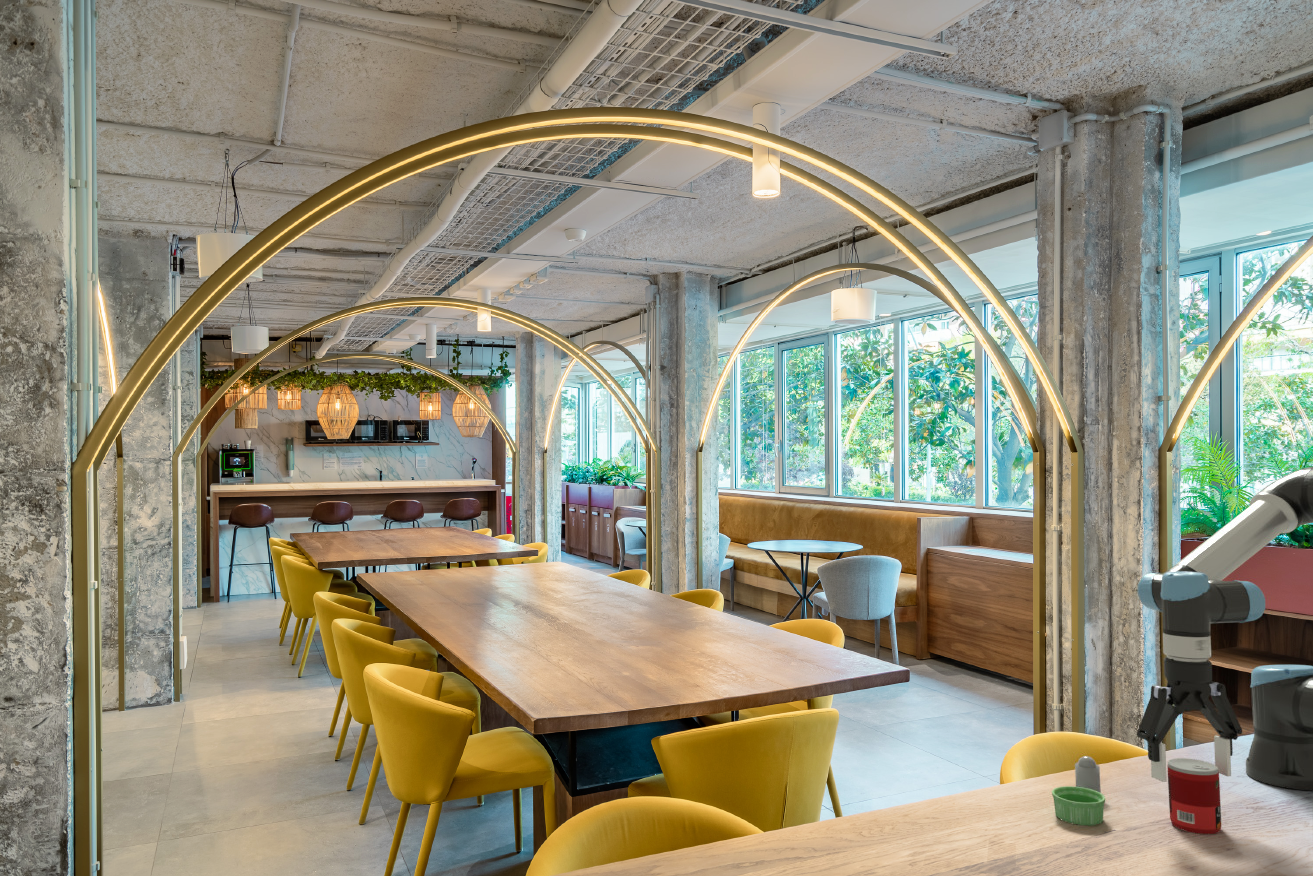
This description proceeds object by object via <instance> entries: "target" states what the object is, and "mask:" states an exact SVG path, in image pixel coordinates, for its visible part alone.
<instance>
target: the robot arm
mask: <svg viewBox="0 0 1313 876" xmlns="http://www.w3.org/2000/svg"><path fill="white" fill-rule="evenodd" d="M1307 524H1313V466H1310V467H1305V468H1304V467H1303V468H1301V469H1298V470H1295V471H1293V472H1290V473H1288V474H1285V475H1283V476H1282V477H1280V478H1279V479H1276V480H1275V481H1273V482H1271V483H1270V484H1269V485H1267V486H1265V487H1264V488H1262V489H1261V490H1260V491H1258V492H1257V493H1256V494H1255V495H1253V496H1252V497H1251V499H1250V501H1249V506H1248V507H1247V508H1245V509H1244V510H1243V511H1242V512H1240V513H1239V514H1238V515H1237V516H1235V517H1234V518H1233V519H1231V520H1230V521H1229V522H1227V523H1226V524H1225V525H1224V526H1223V527H1221V528H1220V529H1219V530H1217V531H1216V532H1215V533H1213V535H1211V536H1210V537H1209V538H1208V539H1206V540H1204V542H1203V543H1201V544H1200V545H1198V546H1197V547H1196V548H1195V549H1193V550H1192V551H1191V552H1190V553H1188V554H1187V555H1186V556H1185V557H1183V558H1182V559H1180V560H1179V561H1178V562H1177V563H1175V565H1173V566H1172V567H1170V568H1168V569H1167V570H1166V571H1165V572H1163V573H1162V572H1151V573H1146V574H1145V575H1144V576H1142V577H1141V579H1139V582H1138V584H1137V596H1138V598H1139V601H1140V602H1141V604H1142V605H1143V606H1144V607H1146V608H1147V609H1150V610H1154V611H1157V612H1161V614H1162V615H1161V616H1162V646H1163V647H1162V654H1164V655H1165V657H1164V658H1163V676H1164V677H1165V679H1166V681H1167V682H1166V686H1160V685H1156V684H1153V685H1151V687H1150V699H1149V701H1148V703H1147V705H1146V708H1145V711H1144V713H1143V716H1142V718H1141V721H1140V724H1139V727H1138V729H1137V732H1136V737H1138V738H1140V739H1142V740H1145V741H1146V743H1147V758H1148V760H1149V761H1150V769H1151V771H1150V772H1151V778H1153V779H1155V780H1158V781H1160V782H1162V783H1165V782H1167V783H1168V776H1167V754H1166V753H1167V752H1166V744H1165V743H1163V740H1164V738H1165V737H1166V735H1167V734H1168V732H1169V731H1170V729H1171V728H1172V726H1174V725H1173V724H1174V723H1175V722H1176V720H1177V718H1178V717H1179V716H1180V715H1182V714H1183V713H1184V712H1191V711H1196V712H1197V711H1199V712H1201V714H1202V715H1203V716H1204V717H1205V719H1206V720H1207V721H1208V722H1209V724H1210V726H1211V727H1212V728H1213V729H1214V731H1216V733H1217V734H1218V735H1214V736H1213V742H1214V743H1213V744H1214V747H1213V748H1214V765H1216V766H1217V767H1218V770H1219V775H1220V774H1221V775H1223V776H1224V777H1232V763H1231V762H1232V761H1231V758H1232V757H1231V756H1233V753H1234V752H1233V740H1234V741H1236V740H1237V739H1238V738H1239V735H1241V734H1242V733H1243V729H1242V726H1241V724H1240V723H1239V720H1238V718H1237V716H1236V713H1235V711H1234V710H1233V707H1232V705H1231V703H1230V701H1229V698H1228V696H1227V690H1226V685H1225V684H1223V683H1219V682H1215V681H1213V666H1212V665H1213V664H1212V662H1211V660H1209V659H1210V658H1212V644H1211V643H1212V640H1211V637H1212V636H1211V634H1212V633H1211V624H1212V625H1213V624H1225V623H1226V624H1227V623H1228V624H1229V623H1240V624H1244V623H1247V622H1252V621H1256V620H1258V619H1260V618H1261V617H1262V616H1263V614H1264V612H1265V609H1266V598H1265V597H1266V596H1265V595H1264V593H1263V591H1262V590H1261V588H1260V587H1259V586H1258V585H1256V584H1255V583H1254V582H1251V581H1246V580H1236V579H1234V580H1224V579H1225V578H1227V577H1228V576H1229V575H1231V574H1232V573H1233V572H1234V571H1235V570H1236V569H1238V568H1239V567H1241V566H1242V565H1244V563H1245V562H1247V561H1248V560H1250V559H1251V558H1252V557H1253V556H1255V554H1257V553H1258V552H1259V551H1261V550H1262V549H1263V548H1264V547H1266V546H1267V545H1268V544H1269V543H1270V542H1271V541H1273V540H1274V539H1276V538H1277V537H1278V536H1279V535H1280V534H1289V533H1291V532H1293V531H1294V530H1296V529H1297V528H1298V527H1300V526H1303V525H1307ZM1250 674H1251V679H1250V693H1251V706H1252V707H1251V708H1252V721H1253V722H1252V723H1253V724H1252V725H1253V739H1252V742H1251V745H1250V748H1249V751H1248V752H1249V753H1248V757H1246V759H1245V773H1246V774H1247V776H1249V777H1250V778H1252V779H1253V780H1256V781H1258V780H1259V782H1261V781H1262V782H1261V783H1265V784H1267V783H1268V785H1271V786H1275V787H1281V788H1285V787H1286V788H1285V789H1291V788H1292V790H1300V791H1313V665H1306V664H1269V665H1259V666H1256V667H1255V668H1253V669H1252V670H1251V673H1250ZM1209 697H1211V700H1212V701H1211V700H1210V699H1209ZM1212 702H1213V703H1212Z"/></svg>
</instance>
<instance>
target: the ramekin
mask: <svg viewBox="0 0 1313 876" xmlns="http://www.w3.org/2000/svg"><path fill="white" fill-rule="evenodd" d="M1051 795H1052V797H1053V804H1054V805H1053V806H1054V812H1055V813H1054V814H1055V815H1056V817H1057V818H1060V819H1059V820H1061V819H1062V820H1061V821H1063V822H1065V821H1066V823H1068V822H1069V823H1068V824H1071V823H1073V824H1072V825H1076V824H1078V825H1077V826H1084V825H1086V826H1087V827H1088V826H1090V827H1091V825H1092V826H1098V825H1100V824H1101V823H1102V822H1104V821H1103V820H1104V811H1105V802H1106V797H1105V794H1102V793H1100V792H1097V791H1095V790H1092V789H1088V788H1082V787H1076V786H1071V785H1069V786H1068V785H1067V786H1065V785H1064V786H1059V787H1058V786H1057V787H1055V788H1053V789H1052V790H1051ZM1097 824H1098V825H1097ZM1086 826H1085V827H1086Z"/></svg>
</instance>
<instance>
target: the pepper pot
mask: <svg viewBox="0 0 1313 876" xmlns="http://www.w3.org/2000/svg"><path fill="white" fill-rule="evenodd" d="M1100 770H1101V769H1100V765H1098V764H1097V763H1096V761H1095V760H1094V758H1093V757H1091V756H1088V755H1084V756H1081V757H1080V758H1079V759H1078V761H1077V762H1075V763H1074V772H1075V773H1074V774H1075V775H1074V776H1075V787H1082V788H1088V789H1092V790H1095V791H1097V792H1100V793H1101V791H1102V790H1101V771H1100ZM1101 794H1102V793H1101Z"/></svg>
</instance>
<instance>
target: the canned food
mask: <svg viewBox="0 0 1313 876" xmlns="http://www.w3.org/2000/svg"><path fill="white" fill-rule="evenodd" d="M1166 769H1167V787H1168V801H1169V802H1168V804H1169V819H1170V822H1171V825H1173V826H1174V827H1175V828H1177V829H1179V830H1181V831H1185V832H1188V833H1193V834H1196V835H1197V834H1198V835H1214V834H1217V833H1220V831H1221V829H1222V809H1221V789H1220V788H1221V787H1220V785H1221V783H1220V773H1219V770H1218V767H1217V766H1216V765H1215V763H1211V762H1209V761H1204V760H1201V759H1194V758H1184V757H1182V758H1181V757H1179V758H1171V759H1169V760H1168V761H1167V764H1166Z"/></svg>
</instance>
